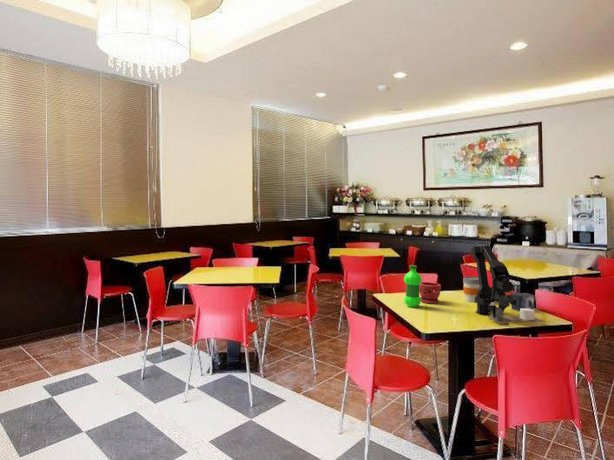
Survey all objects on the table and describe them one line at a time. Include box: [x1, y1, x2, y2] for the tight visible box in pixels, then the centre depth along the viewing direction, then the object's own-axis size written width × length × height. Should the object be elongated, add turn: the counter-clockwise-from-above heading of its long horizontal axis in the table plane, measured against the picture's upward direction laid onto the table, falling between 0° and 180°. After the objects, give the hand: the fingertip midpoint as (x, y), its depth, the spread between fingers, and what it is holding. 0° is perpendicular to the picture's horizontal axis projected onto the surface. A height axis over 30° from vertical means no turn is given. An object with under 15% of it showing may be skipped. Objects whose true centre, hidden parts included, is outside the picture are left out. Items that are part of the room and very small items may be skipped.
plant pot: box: [419, 281, 442, 304], centre depth 259 cm, size 13×13×12 cm
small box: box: [511, 292, 535, 313], centre depth 236 cm, size 11×6×10 cm, turn 105°
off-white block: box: [519, 308, 536, 320], centre depth 216 cm, size 5×5×5 cm
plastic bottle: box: [403, 264, 423, 308], centre depth 247 cm, size 10×10×25 cm
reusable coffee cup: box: [462, 276, 479, 304], centre depth 262 cm, size 13×13×15 cm
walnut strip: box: [487, 306, 545, 325], centre depth 216 cm, size 24×12×7 cm, turn 94°
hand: (497, 317), depth 215 cm, fingers closed on walnut strip, 3 cm apart
